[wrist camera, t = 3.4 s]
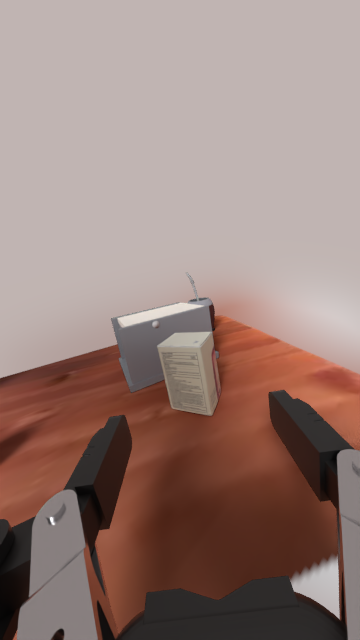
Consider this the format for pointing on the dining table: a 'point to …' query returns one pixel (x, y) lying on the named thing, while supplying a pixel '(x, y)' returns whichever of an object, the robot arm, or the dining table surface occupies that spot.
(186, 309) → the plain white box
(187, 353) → the small box
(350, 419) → the dining table surface
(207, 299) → the mate gourd
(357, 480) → the robot arm
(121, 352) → the stand
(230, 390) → the dining table surface
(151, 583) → the dining table surface
